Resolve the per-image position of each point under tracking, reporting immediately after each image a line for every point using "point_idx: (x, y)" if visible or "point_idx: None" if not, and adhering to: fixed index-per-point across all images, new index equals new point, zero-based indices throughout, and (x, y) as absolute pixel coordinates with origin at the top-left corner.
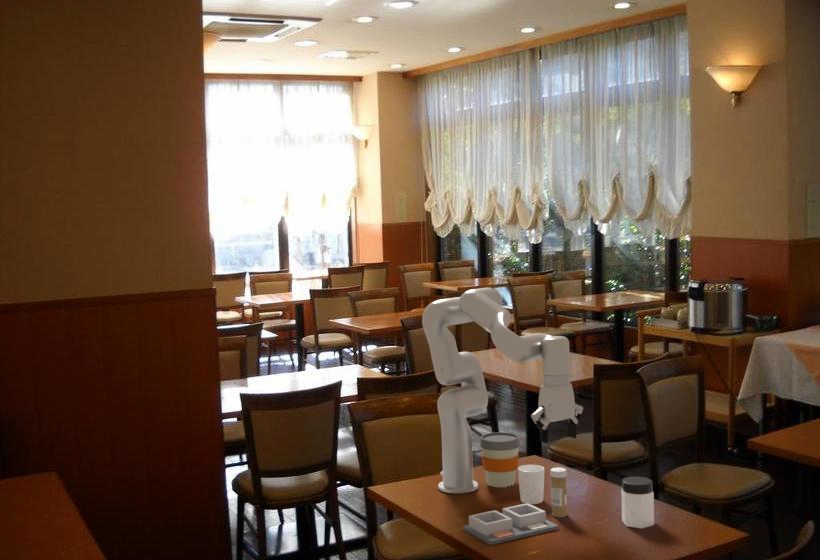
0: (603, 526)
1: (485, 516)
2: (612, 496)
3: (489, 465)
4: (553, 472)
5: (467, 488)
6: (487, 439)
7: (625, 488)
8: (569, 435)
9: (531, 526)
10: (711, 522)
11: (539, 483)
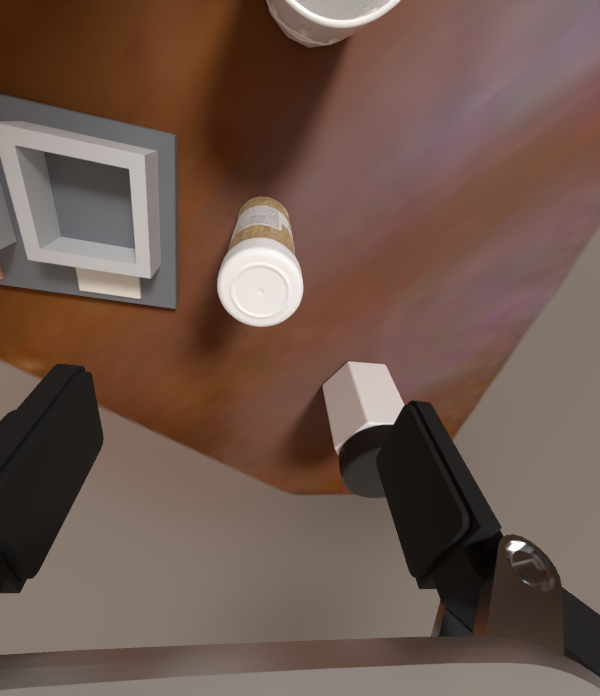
0: (286, 357)
1: None
2: (531, 216)
3: None
4: (218, 292)
5: None
6: None
7: (341, 457)
8: (398, 428)
9: (88, 270)
10: None
11: (318, 37)
